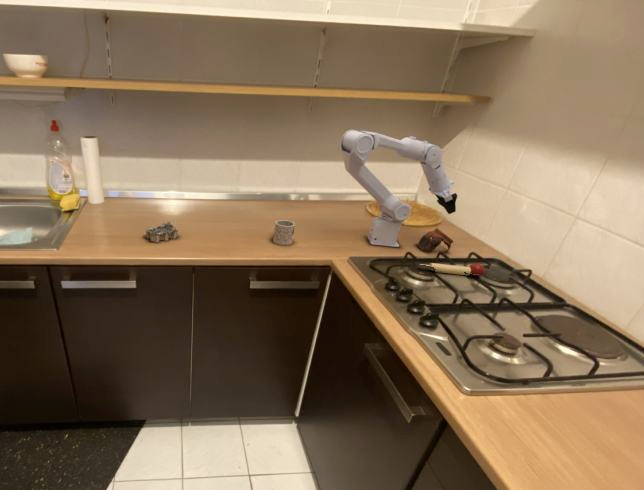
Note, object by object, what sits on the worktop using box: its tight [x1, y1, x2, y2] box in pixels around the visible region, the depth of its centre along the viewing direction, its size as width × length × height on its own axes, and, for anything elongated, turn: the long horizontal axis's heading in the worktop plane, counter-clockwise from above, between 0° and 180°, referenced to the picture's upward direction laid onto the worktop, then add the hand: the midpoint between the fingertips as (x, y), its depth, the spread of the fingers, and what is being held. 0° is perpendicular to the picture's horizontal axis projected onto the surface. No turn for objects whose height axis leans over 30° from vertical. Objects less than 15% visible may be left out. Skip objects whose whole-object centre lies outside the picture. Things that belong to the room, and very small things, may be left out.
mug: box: [272, 219, 296, 246], centre depth 135 cm, size 10×7×7 cm, turn 9°
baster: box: [419, 262, 485, 278], centre depth 116 cm, size 18×4×4 cm, turn 79°
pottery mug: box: [416, 228, 454, 253], centre depth 132 cm, size 12×10×8 cm
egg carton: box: [144, 221, 180, 243], centre depth 133 cm, size 11×8×4 cm
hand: (448, 207), depth 134 cm, fingers open, 7 cm apart
